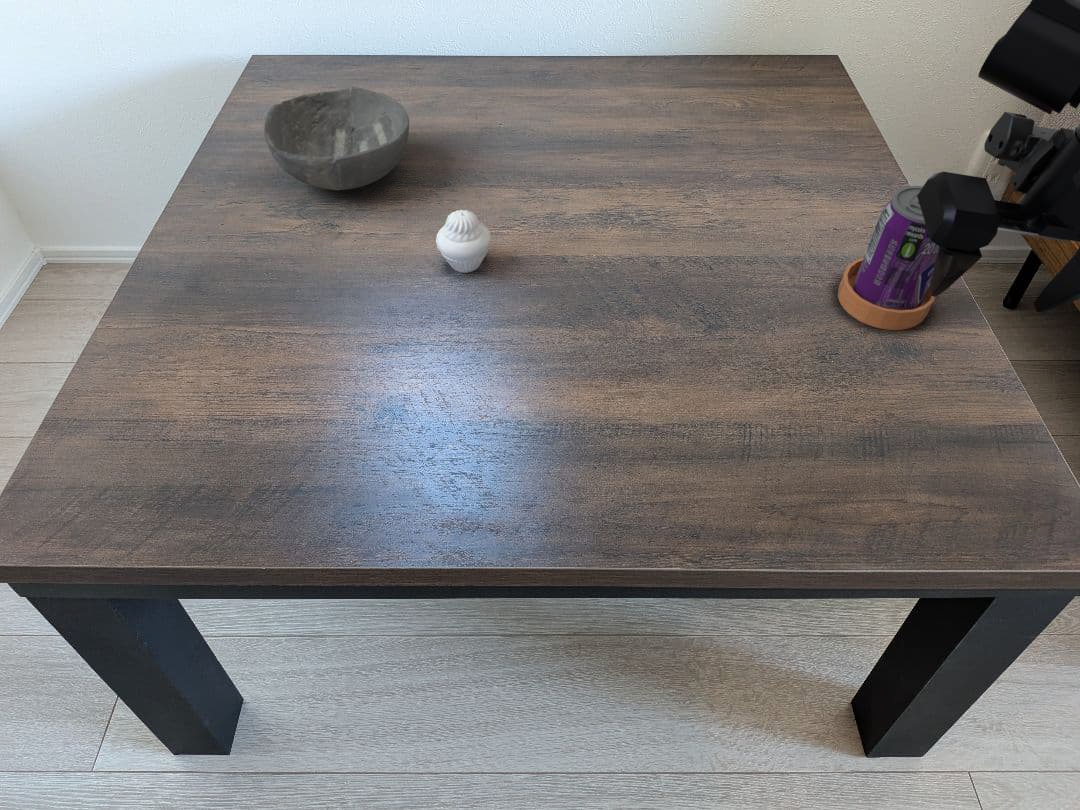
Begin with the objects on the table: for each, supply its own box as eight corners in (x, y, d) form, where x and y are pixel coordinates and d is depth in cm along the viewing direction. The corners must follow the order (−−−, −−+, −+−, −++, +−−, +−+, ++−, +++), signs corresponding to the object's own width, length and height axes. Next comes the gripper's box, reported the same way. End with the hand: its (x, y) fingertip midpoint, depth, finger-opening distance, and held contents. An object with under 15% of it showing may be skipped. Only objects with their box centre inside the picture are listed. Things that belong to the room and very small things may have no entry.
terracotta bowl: (921, 279, 88) (930, 261, 86) (932, 335, 82) (941, 317, 80) (835, 269, 89) (841, 251, 87) (839, 323, 83) (846, 305, 81)
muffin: (435, 252, 91) (428, 200, 86) (486, 244, 92) (483, 192, 87) (444, 285, 87) (437, 233, 82) (497, 276, 88) (495, 224, 83)
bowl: (419, 208, 97) (411, 149, 91) (273, 221, 95) (255, 162, 89) (412, 134, 109) (404, 78, 103) (282, 145, 107) (267, 88, 101)
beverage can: (893, 329, 82) (936, 233, 73) (837, 294, 85) (872, 199, 76) (932, 301, 85) (979, 206, 76) (877, 269, 88) (915, 175, 79)
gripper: (1198, 99, 59) (1061, 251, 72) (959, 59, 58) (863, 220, 71) (1265, 195, 52) (1101, 344, 65) (997, 152, 51) (884, 311, 64)
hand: (984, 300), depth 66 cm, fingers open, 9 cm apart
